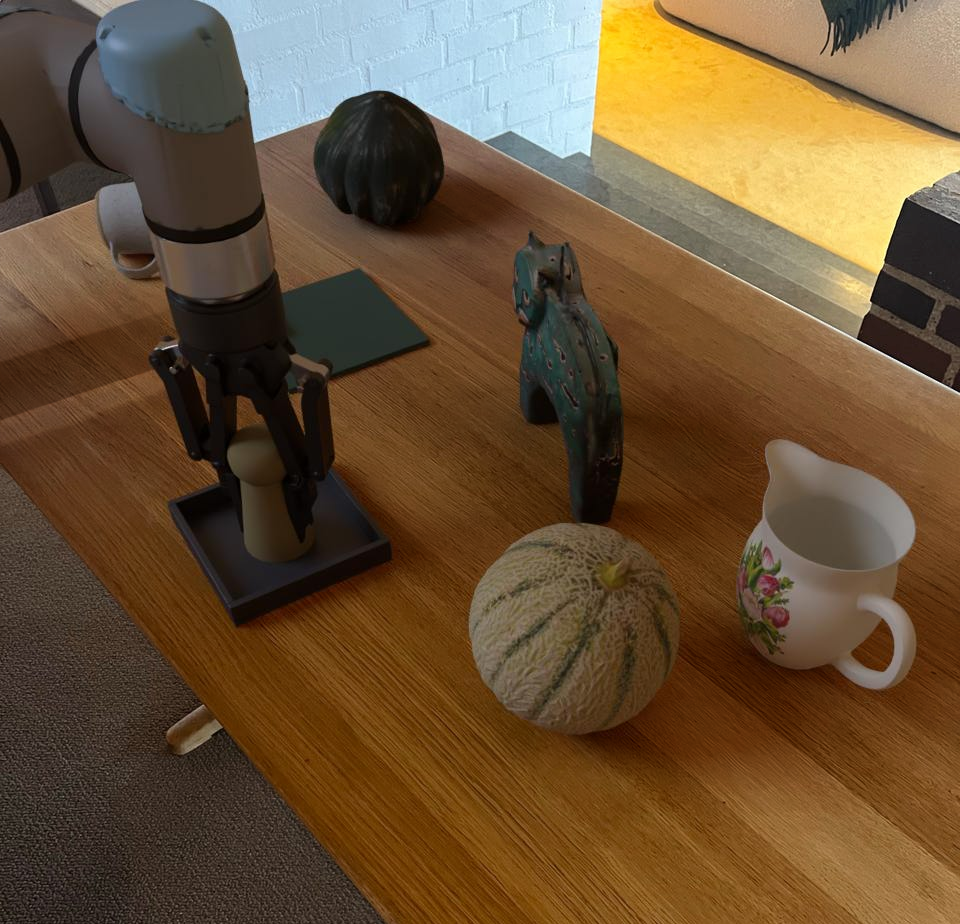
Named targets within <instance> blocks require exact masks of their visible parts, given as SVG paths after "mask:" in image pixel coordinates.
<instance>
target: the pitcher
mask: <svg viewBox="0 0 960 924" xmlns="http://www.w3.org/2000/svg"><path fill="white" fill-rule="evenodd" d="M764 451H765V452H764V454H765V455H764V457H765V459H766V460H765V461H766V465H767V469H768V474H769V476H770V477H769V482H768V485H767V488H766V491H765V493H764V497H763V502H762V517H761V520H760V521H759V522H758V524H757V525H756V526H755V527H754V529H753V531H752V532H751V534H750V535H749V537H748V539H747V542H746V544H745V546H744V549H743V552H742V554H741V558H740V560H739V565H738V570H737V574H736V575H737V576H736V592H735V593H736V604H737V605H736V606H737V611H738V615H739V619H740V623H741V626H742V629H743V631H744V633H745V635H746V637H747V638H748V640H749V641H750V643H751V644H752V645H753V646H754V647H755V649H756V650H757V651H758V652H759V654H760V655H762V656H763V657H764V658H765V659H767V660H768V661H769V662H772V663H773V664H775V665H777V666H780V667H783V668H787V669H791V670H809V669H814V668H817V667H821V666H826V665H828V664H829V665H831V666H833V667H834V668H835V669H836V670H837V671H839V672H840V673H841V674H842V675H843V676H844V677H846V678H847V679H848V680H850V681H851V682H852V683H854V684H856V685H858V686H860V687H862V688H865V689H868V690H873V691H883V690H888V689H892V688H894V687H895V686H897V685H898V684H900V683H901V682H902V681H903V680H904V679H905V678H906V676H907V675H908V673H909V671H910V669H911V668H912V667H913V666H912V665H913V663H914V661H915V660H914V659H915V657H916V652H917V635H916V631H915V626H914V624H913V622H912V618H910V616H909V614H908V612H907V611H906V610H905V609H904V608H903V607H902V605H900V604H899V603H897V602H896V601H895V600H893V597H894V596H895V595H894V594H895V591H896V587H897V582H898V572H899V571H898V570H899V564H900V563H901V562H902V561H903V560H904V559H905V558H906V556H907V555H908V554H909V552H910V551H911V549H913V548H912V547H913V545H914V544H915V541H916V537H917V525H916V524H917V523H916V519H915V517H914V514H913V512H912V510H911V508H910V506H908V504H907V503H906V501H905V500H904V499H903V497H901V496H900V495H899V493H898V492H896V491H895V490H894V489H893V488H892V487H891V486H890V485H888V484H887V483H886V482H884V481H882V480H881V479H879V478H877V477H876V476H874V475H872V474H870V473H868V472H867V471H865V470H861V469H859V468H856V467H853V466H850V465H847V464H843V463H840V462H836V461H832V460H829V459H827V458H824V457H822V456H820V455H818V454H817V453H815V452H814V451H812V450H810V449H809V448H807V447H805V446H803V445H801V444H799V443H796V442H794V441H792V440H789V439H783V438H777V439H773V440H771V441H769V442H768V443H767V444H766V446H765V449H764ZM882 619H883V620H884V621H885V622H886V624H887V625H888V627H889V628H890V632H891V634H892V638H893V644H894V646H893V647H894V650H893V655H892V656H893V657H892V659H891V662H890V664H889V665H888V667H887V668H886V669H885V671H880V670H879V671H878V670H874V669H871V668H868V667H866V666H865V665H863V664H862V663H860V662H859V661H858V660H857V659H856V658H855V657H854V656H853V655H852V652H853V651H854V650H855V649H856V648H857V647H859V646H860V645H861V644H862V643H864V641H865V640H867V639H868V638H869V637H870V636H871V635H872V633H873V632H874V630H875V629H876V628H877V627H878V625H879V624H880V623H881V622H882Z"/></svg>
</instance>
